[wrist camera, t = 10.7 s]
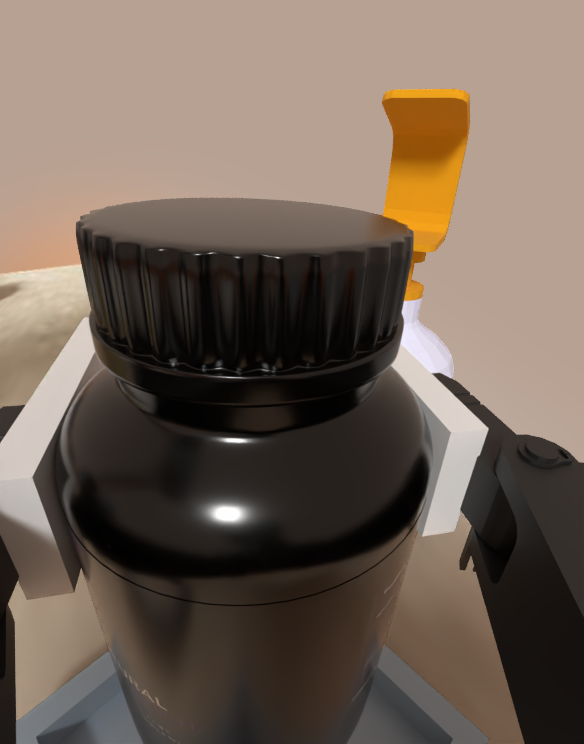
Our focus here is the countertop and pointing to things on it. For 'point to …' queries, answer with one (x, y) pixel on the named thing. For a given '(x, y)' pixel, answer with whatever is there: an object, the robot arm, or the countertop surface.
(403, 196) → the soap bottle
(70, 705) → the tray
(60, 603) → the countertop surface
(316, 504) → the supplement bottle
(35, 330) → the countertop surface
